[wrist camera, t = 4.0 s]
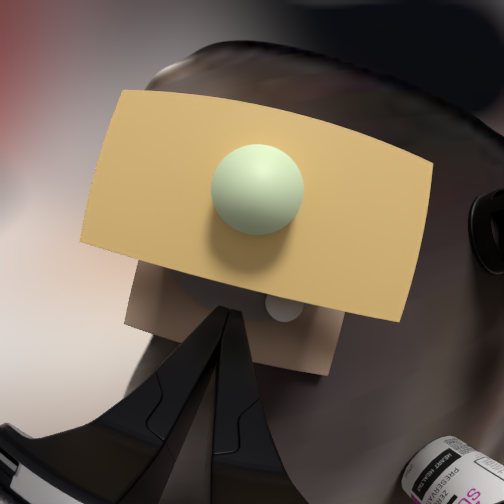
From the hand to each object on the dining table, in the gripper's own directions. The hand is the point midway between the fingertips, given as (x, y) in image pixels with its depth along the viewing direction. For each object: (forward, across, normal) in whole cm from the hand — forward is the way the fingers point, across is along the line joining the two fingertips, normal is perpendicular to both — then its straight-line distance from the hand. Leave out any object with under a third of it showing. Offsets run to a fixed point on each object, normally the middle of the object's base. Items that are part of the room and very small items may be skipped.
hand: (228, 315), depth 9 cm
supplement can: (-2, -25, +19) cm, 32 cm away
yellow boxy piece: (+10, 0, +2) cm, 10 cm away
